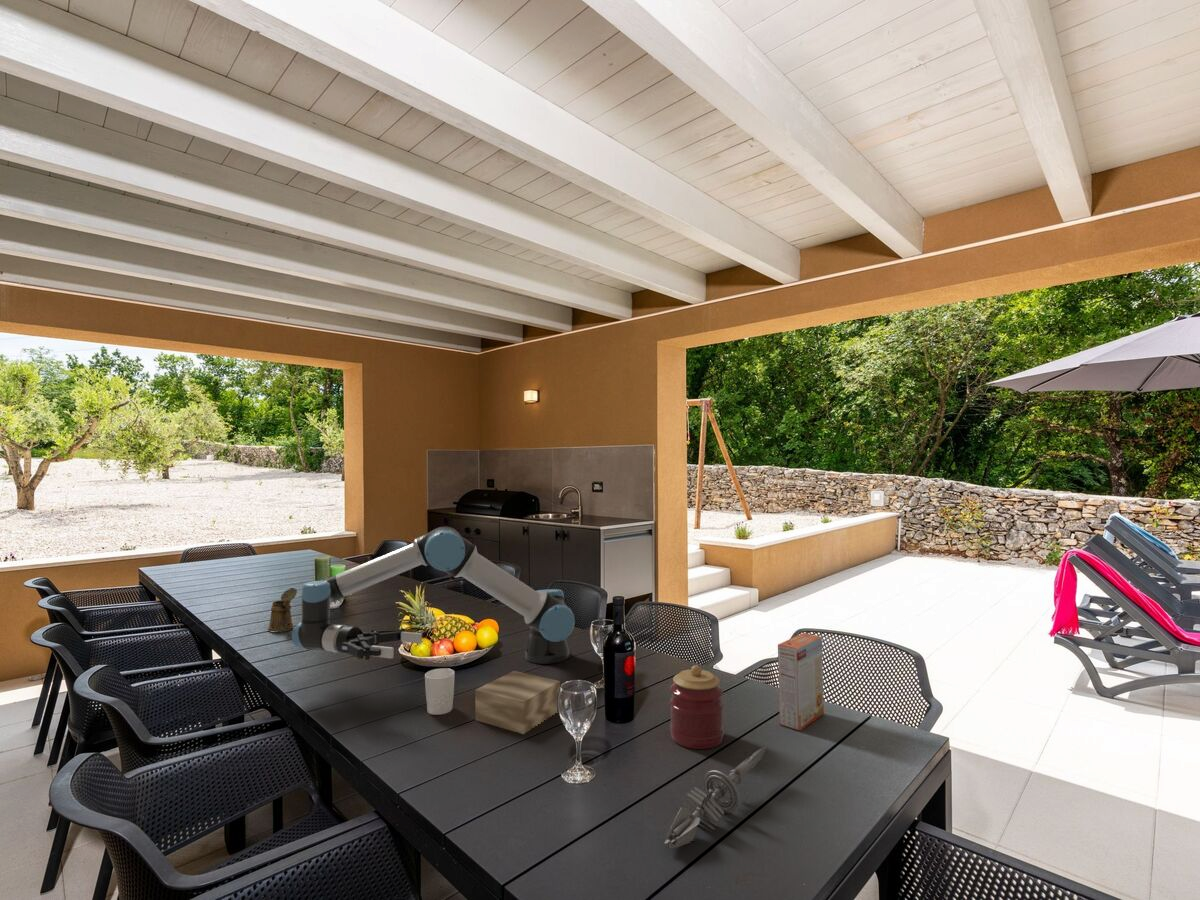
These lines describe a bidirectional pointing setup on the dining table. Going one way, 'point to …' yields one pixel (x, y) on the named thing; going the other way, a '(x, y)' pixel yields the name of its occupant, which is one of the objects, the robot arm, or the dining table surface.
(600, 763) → the dining table surface
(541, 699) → the riser block
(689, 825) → the spaceship
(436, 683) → the white cup
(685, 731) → the canister
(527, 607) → the robot arm
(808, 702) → the cracker box
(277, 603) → the wooden mug
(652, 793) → the dining table surface
